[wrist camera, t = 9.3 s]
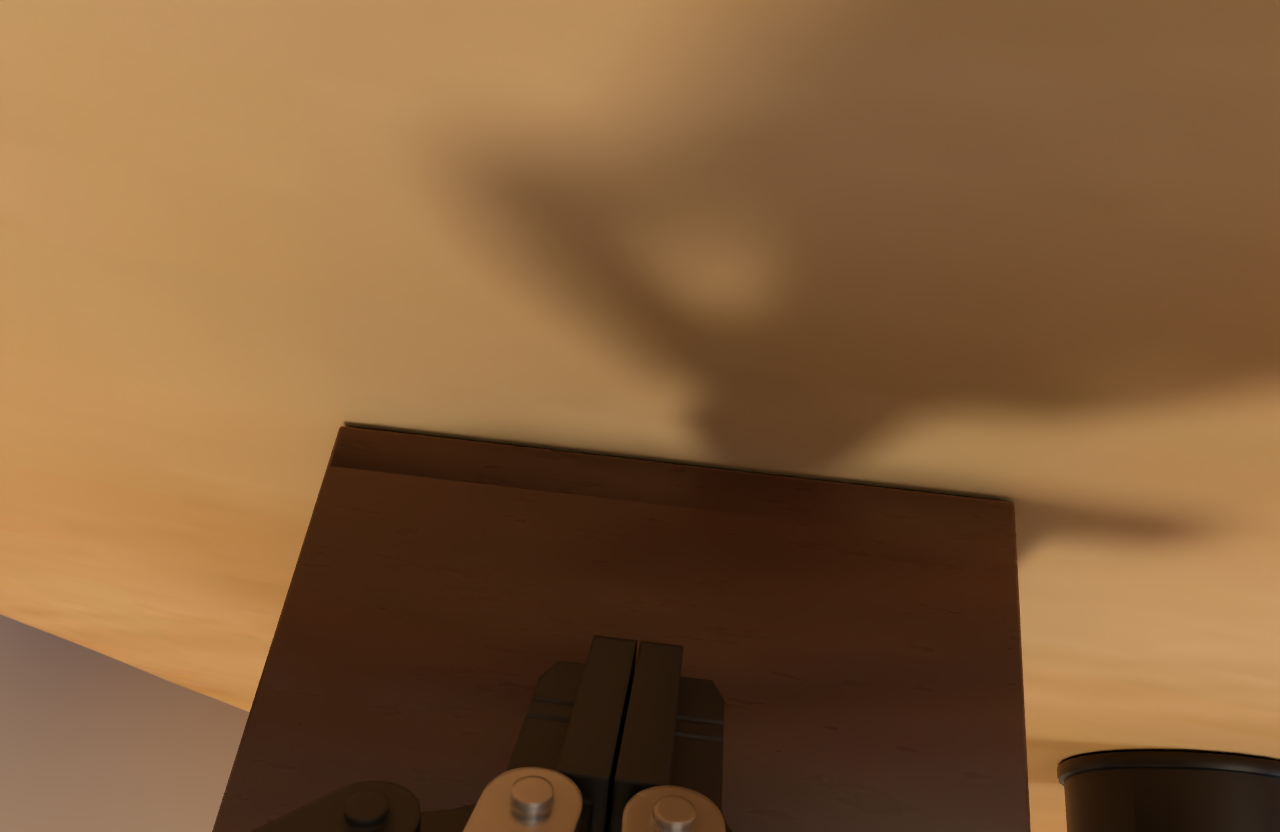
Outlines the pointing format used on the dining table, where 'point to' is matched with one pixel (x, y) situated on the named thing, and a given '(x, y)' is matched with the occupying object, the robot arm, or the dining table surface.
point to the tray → (645, 632)
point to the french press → (1170, 792)
